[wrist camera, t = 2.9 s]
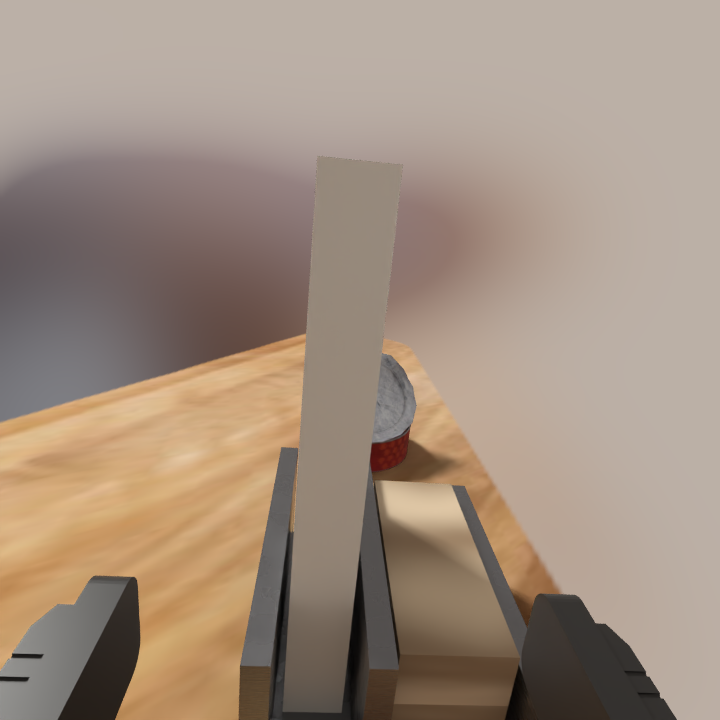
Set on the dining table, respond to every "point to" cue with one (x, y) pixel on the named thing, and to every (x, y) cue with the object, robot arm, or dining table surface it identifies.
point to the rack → (369, 619)
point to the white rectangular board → (337, 419)
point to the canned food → (391, 416)
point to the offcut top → (441, 601)
